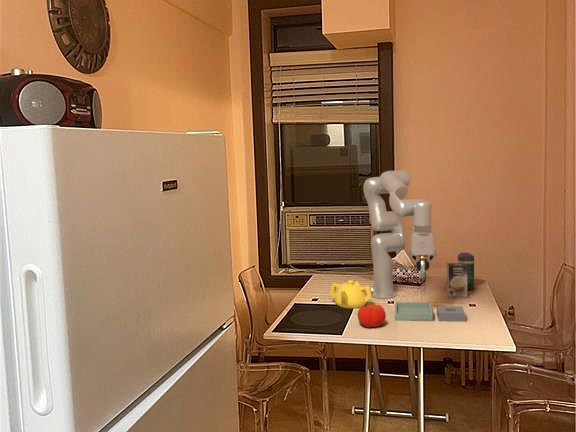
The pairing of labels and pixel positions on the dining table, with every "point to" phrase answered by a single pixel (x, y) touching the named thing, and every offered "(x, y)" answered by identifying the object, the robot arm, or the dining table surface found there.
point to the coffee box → (456, 280)
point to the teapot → (350, 294)
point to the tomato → (371, 315)
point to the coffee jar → (468, 268)
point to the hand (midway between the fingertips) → (422, 269)
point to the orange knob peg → (422, 267)
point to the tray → (413, 311)
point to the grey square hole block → (450, 313)
